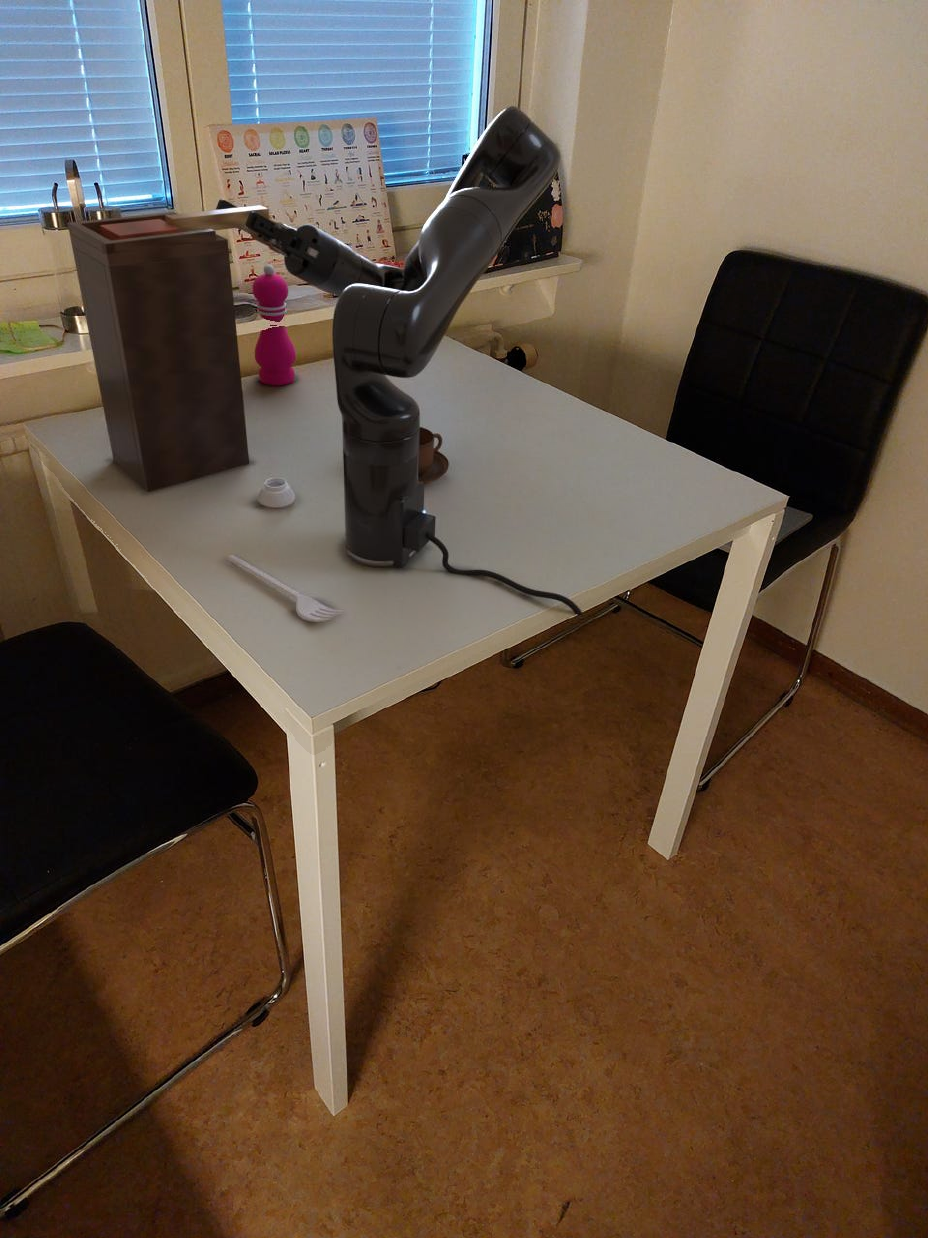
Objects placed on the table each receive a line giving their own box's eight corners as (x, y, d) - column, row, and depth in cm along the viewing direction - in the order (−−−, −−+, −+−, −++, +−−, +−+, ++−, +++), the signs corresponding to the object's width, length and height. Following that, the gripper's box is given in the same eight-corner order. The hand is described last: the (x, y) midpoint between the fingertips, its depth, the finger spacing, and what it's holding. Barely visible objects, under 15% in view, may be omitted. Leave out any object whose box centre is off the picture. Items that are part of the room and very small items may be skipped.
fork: (241, 556, 114) (239, 543, 113) (348, 622, 104) (347, 609, 103) (219, 565, 112) (218, 552, 111) (326, 634, 102) (326, 620, 100)
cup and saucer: (398, 449, 141) (398, 412, 138) (463, 470, 137) (465, 432, 133) (352, 477, 133) (351, 438, 129) (420, 500, 128) (421, 461, 125)
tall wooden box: (211, 435, 142) (184, 210, 123) (249, 463, 135) (226, 229, 115) (113, 460, 133) (67, 222, 114) (148, 491, 126) (105, 243, 107)
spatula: (254, 217, 126) (253, 202, 125) (276, 226, 123) (275, 210, 122) (101, 235, 114) (98, 218, 113) (121, 245, 111) (118, 228, 110)
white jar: (300, 496, 127) (269, 490, 128) (299, 478, 125) (267, 471, 127) (284, 512, 123) (252, 505, 124) (283, 493, 122) (250, 486, 123)
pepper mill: (301, 373, 165) (295, 260, 153) (291, 388, 159) (284, 271, 148) (263, 370, 165) (253, 257, 154) (251, 384, 160) (241, 268, 148)
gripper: (307, 226, 137) (218, 175, 124) (361, 248, 128) (270, 194, 116) (288, 274, 138) (198, 227, 126) (340, 298, 130) (249, 250, 117)
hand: (233, 212), depth 121 cm, fingers open, 8 cm apart
